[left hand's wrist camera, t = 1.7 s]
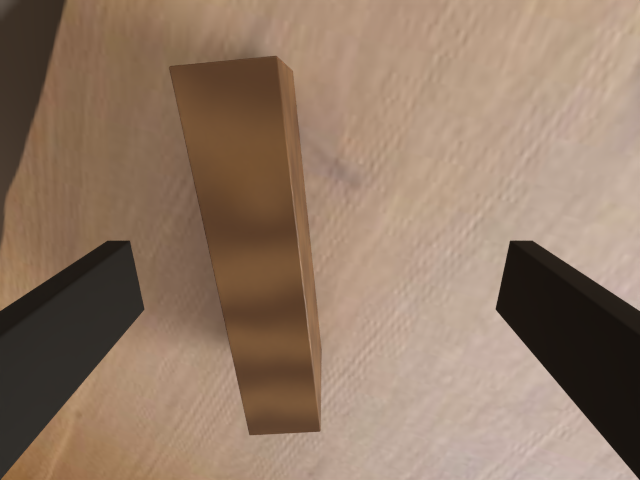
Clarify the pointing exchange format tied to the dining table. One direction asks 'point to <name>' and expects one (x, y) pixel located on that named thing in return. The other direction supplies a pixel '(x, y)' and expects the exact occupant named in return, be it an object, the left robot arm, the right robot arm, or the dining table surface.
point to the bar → (257, 232)
